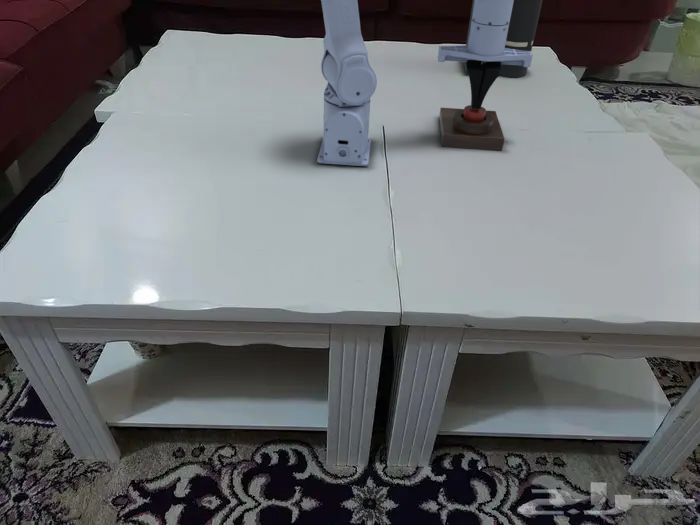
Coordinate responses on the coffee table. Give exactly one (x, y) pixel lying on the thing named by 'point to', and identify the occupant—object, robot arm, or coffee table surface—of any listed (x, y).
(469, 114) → the button
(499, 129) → the switch block
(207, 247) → the coffee table surface
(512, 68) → the light fixture
